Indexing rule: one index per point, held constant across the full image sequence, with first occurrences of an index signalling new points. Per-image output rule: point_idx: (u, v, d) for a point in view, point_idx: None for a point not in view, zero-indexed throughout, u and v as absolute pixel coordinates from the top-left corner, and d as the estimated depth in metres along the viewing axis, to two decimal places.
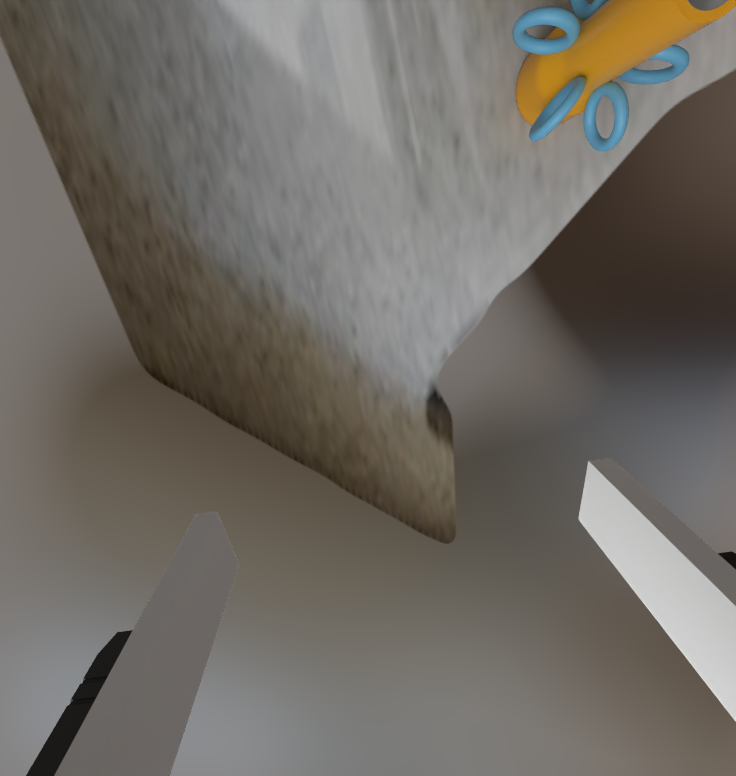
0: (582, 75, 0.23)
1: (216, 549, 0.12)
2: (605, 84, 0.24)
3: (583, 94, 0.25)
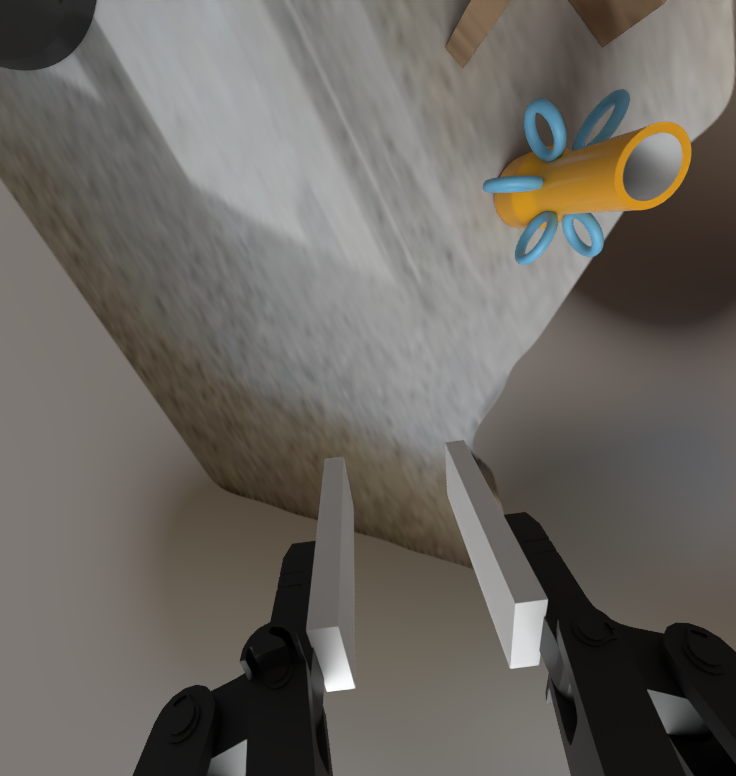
0: (553, 211, 0.26)
1: (346, 488, 0.13)
2: None
3: (557, 216, 0.28)
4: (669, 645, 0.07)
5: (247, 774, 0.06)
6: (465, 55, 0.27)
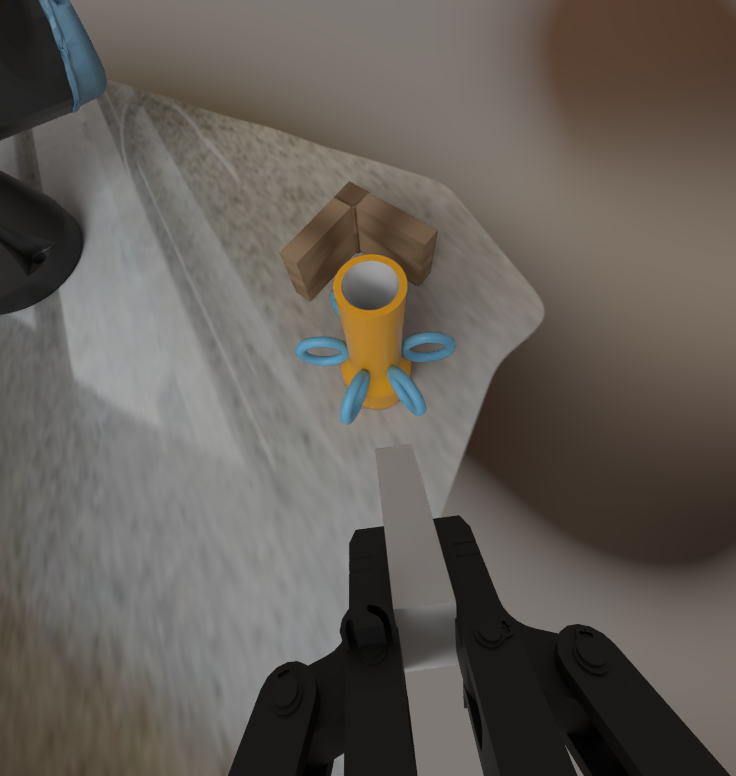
0: (362, 369, 0.25)
1: None
2: (388, 369, 0.25)
3: (381, 380, 0.27)
4: (562, 652, 0.07)
5: (345, 739, 0.06)
6: (303, 290, 0.35)
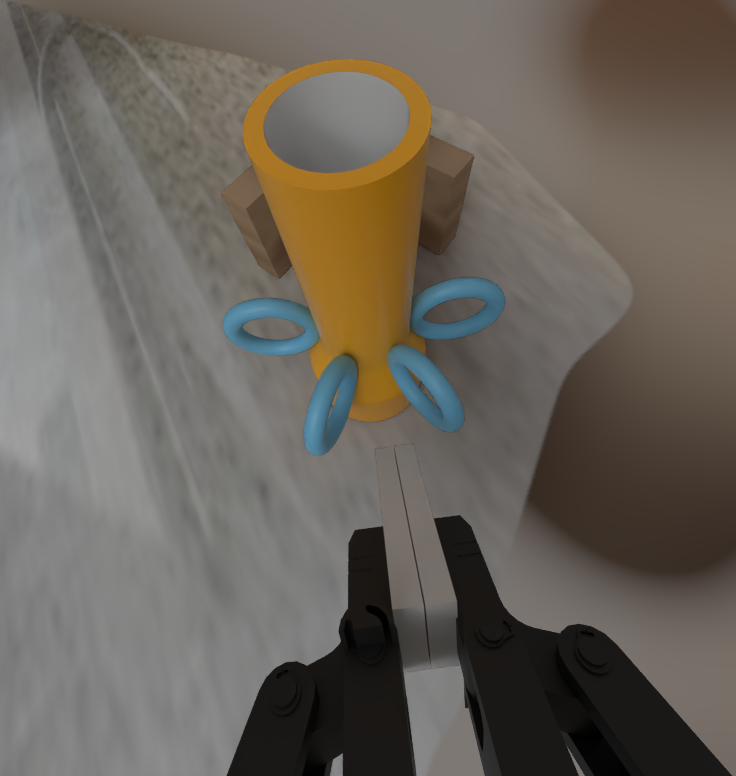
0: (343, 353, 0.14)
1: None
2: (389, 351, 0.14)
3: (377, 372, 0.15)
4: (563, 651, 0.07)
5: (344, 739, 0.06)
6: (266, 260, 0.23)
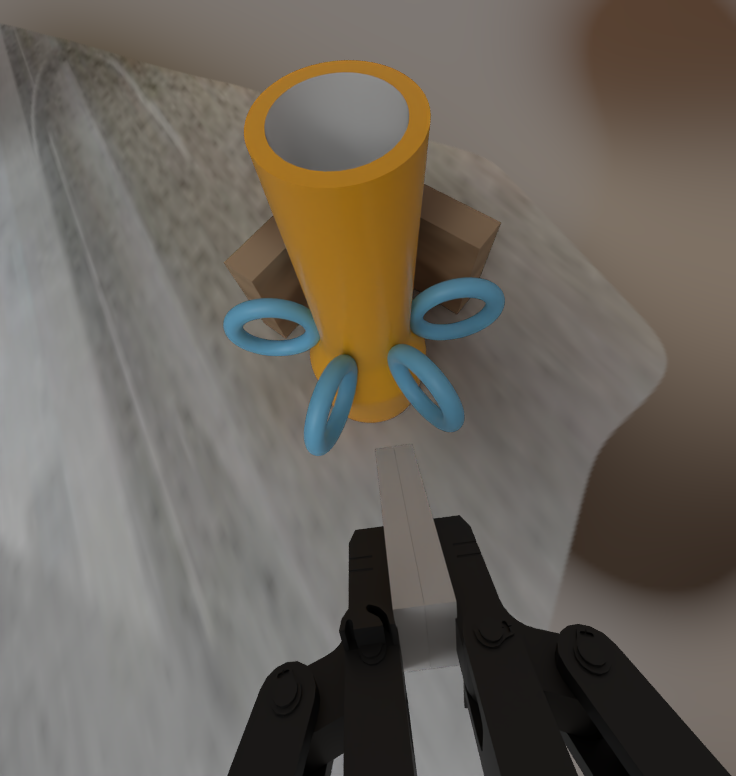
0: (343, 353, 0.14)
1: None
2: (389, 351, 0.14)
3: (377, 372, 0.15)
4: (562, 652, 0.07)
5: (344, 739, 0.06)
6: (273, 322, 0.21)
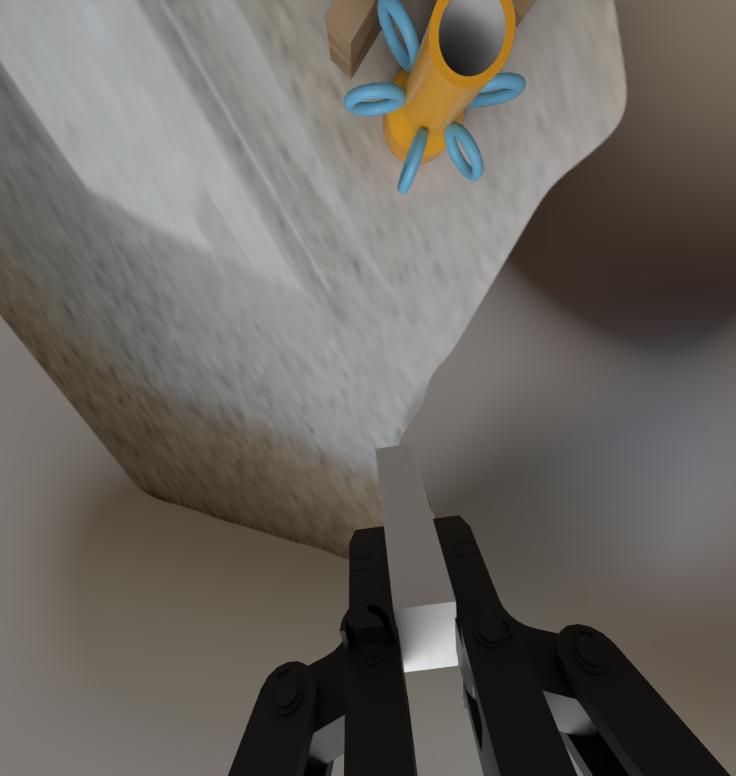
0: (422, 127, 0.24)
1: None
2: (449, 126, 0.24)
3: (436, 137, 0.25)
4: (561, 652, 0.07)
5: (345, 739, 0.06)
6: (346, 66, 0.27)
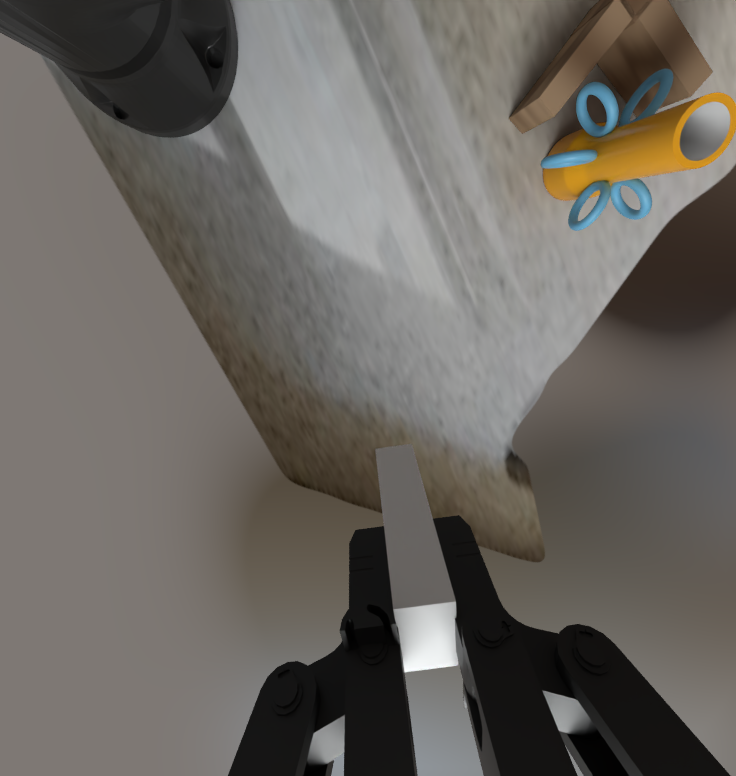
0: (605, 180, 0.30)
1: None
2: None
3: None
4: (561, 652, 0.07)
5: (345, 739, 0.06)
6: (526, 126, 0.33)
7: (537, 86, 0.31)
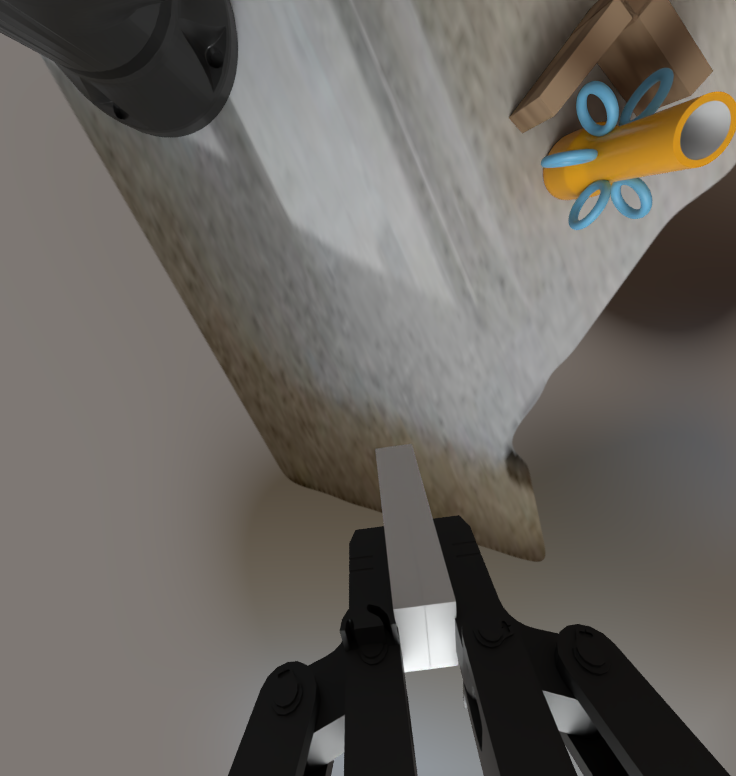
0: (606, 179, 0.30)
1: None
2: None
3: None
4: (561, 652, 0.07)
5: (345, 739, 0.06)
6: (527, 125, 0.33)
7: (537, 85, 0.31)
